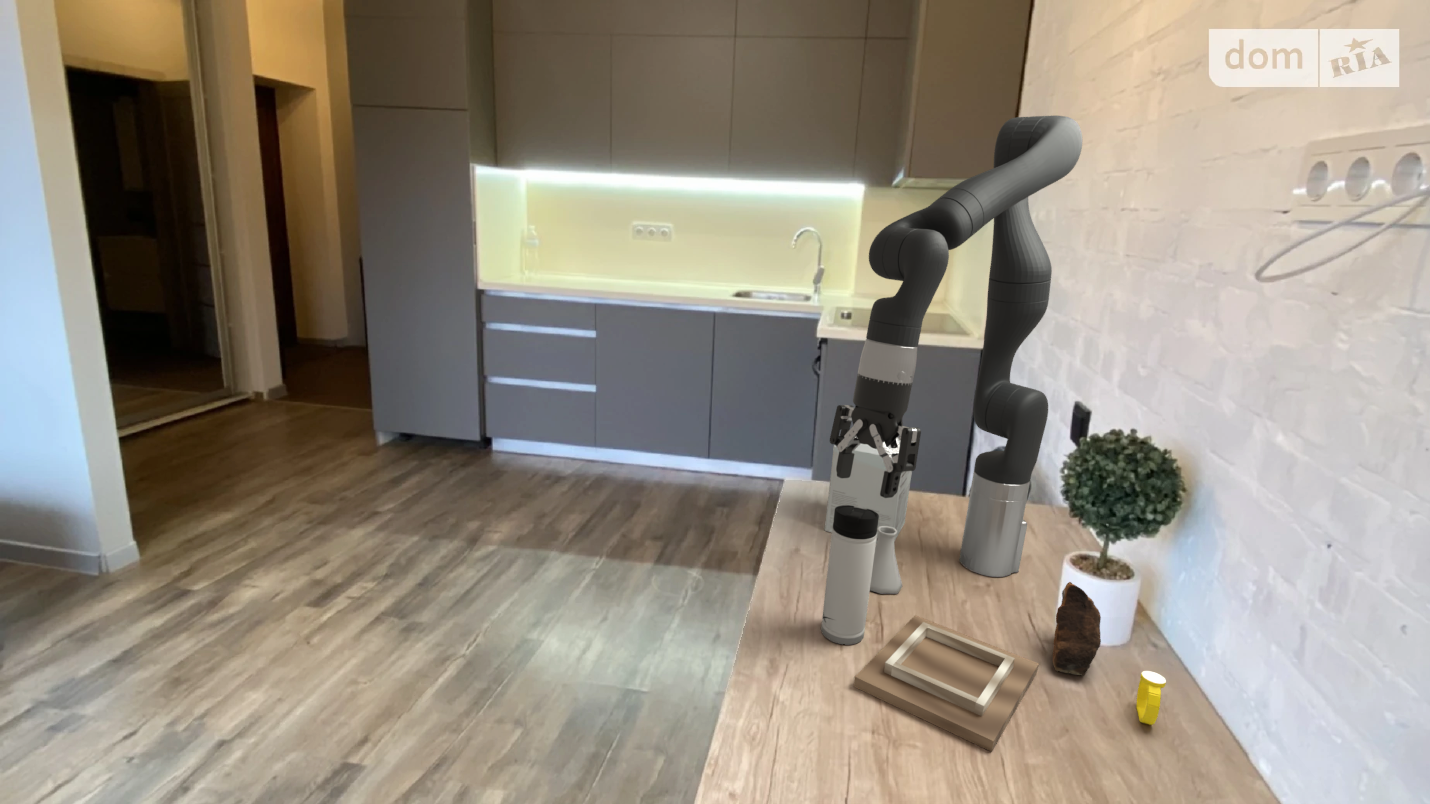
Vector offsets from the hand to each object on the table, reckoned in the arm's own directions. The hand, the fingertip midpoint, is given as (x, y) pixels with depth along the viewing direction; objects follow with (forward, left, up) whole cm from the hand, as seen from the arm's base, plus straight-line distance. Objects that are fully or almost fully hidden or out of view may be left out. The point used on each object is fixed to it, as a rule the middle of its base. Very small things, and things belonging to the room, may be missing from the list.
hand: (864, 486), depth 106 cm
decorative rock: (-30, +9, -23) cm, 39 cm away
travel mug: (+2, +2, -23) cm, 23 cm away
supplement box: (-14, -34, -23) cm, 43 cm away
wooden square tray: (-10, +13, -22) cm, 28 cm away
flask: (-9, -12, -23) cm, 27 cm away
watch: (-32, +22, -23) cm, 45 cm away
